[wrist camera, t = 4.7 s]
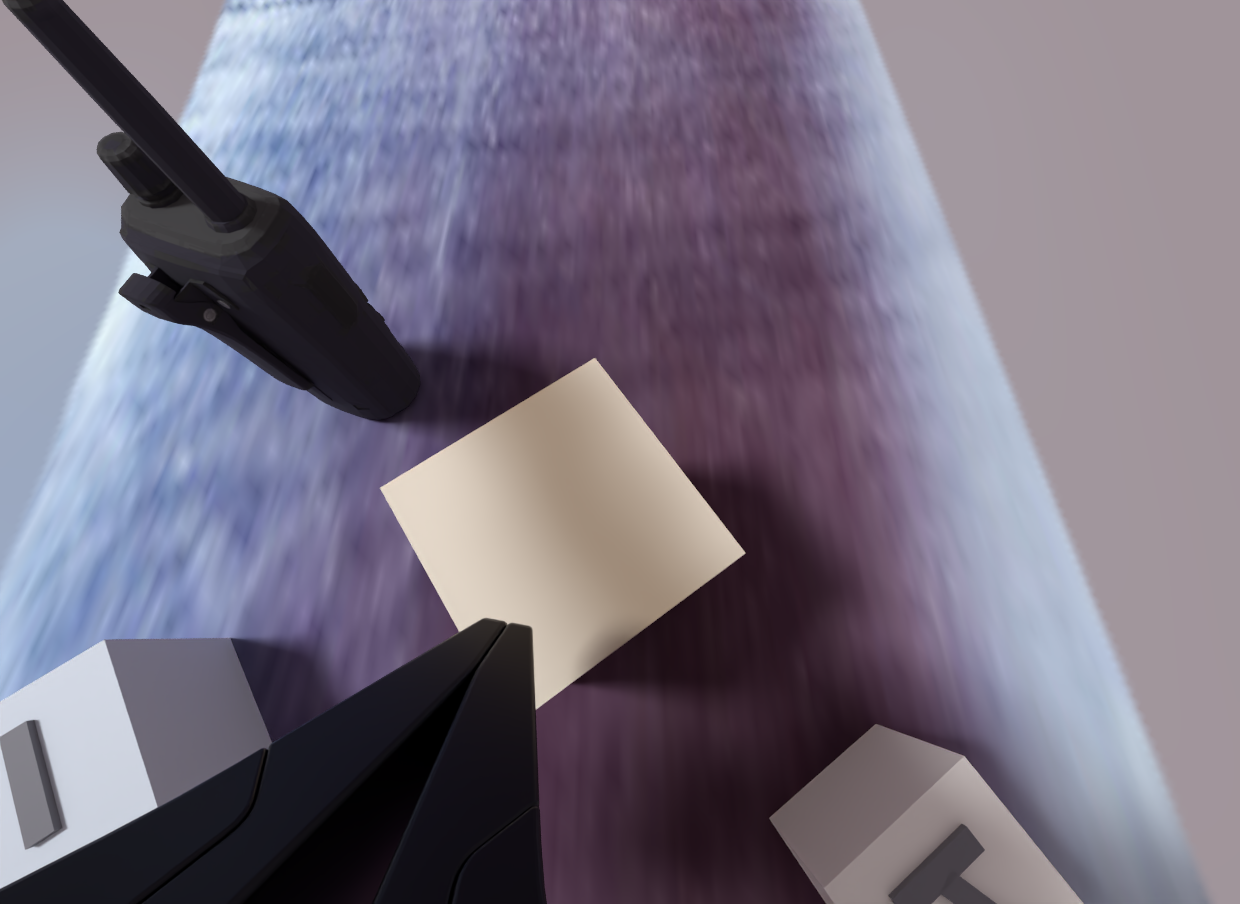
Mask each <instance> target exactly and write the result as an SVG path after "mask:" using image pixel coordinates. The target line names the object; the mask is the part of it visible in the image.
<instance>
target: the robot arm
mask: <svg viewBox="0 0 1240 904" xmlns="http://www.w3.org/2000/svg"><path fill="white" fill-rule="evenodd" d="M0 904H547V901H546V894H545V886H544V873H543V859H542V846H541V826H540V809H539V784H538V758H537V731H536V705H535V679H534V652H533V630H532V627H530V626H528V625H522V624H517V623H509V624H507V623H506V622H505V621H502V620H496V619H491V618H483V619H481V620H479V621H477V622H476V623H474V624H472V625H470V626H469V627H467V628H465V629H464V630H462V631H460V632H459V633H457V634H455V635H454V636H452V637H450V638H448V639H447V640H445V641H443V642H442V643H440V644H438V645H437V646H435V647H433V648H432V649H430V650H428V651H427V652H425V653H423V654H421V655H420V656H418V657H416V658H415V659H413V660H411V661H410V662H408V663H406V664H405V665H403V666H401V667H400V668H398V669H396V670H394V671H393V672H391V673H389V674H388V675H386V676H384V677H383V678H381V679H379V680H378V681H376V682H374V683H372V684H371V685H369V686H367V687H366V688H364V689H362V690H361V691H359V692H357V693H356V694H354V695H352V696H351V697H349V698H347V699H345V700H344V701H342V702H340V703H339V704H337V705H335V706H334V707H332V708H330V709H329V710H327V711H325V712H323V713H322V714H320V715H318V716H317V717H315V718H313V719H312V720H310V721H308V722H307V723H305V724H303V725H302V726H300V727H298V728H296V729H295V730H293V731H291V732H290V733H288V734H286V735H285V736H283V737H281V738H280V739H278V740H276V741H274V742H273V743H271V744H270V745H269V747H268V750H267V749H266V748H261V749H259V750H257V751H256V752H254V753H252V754H251V755H249V756H247V757H246V758H244V759H242V760H241V761H239V762H237V763H235V764H234V765H232V766H230V767H229V768H227V769H225V770H223V771H222V772H220V773H218V774H216V775H215V776H213V777H211V778H209V779H207V780H206V781H204V782H202V783H200V784H199V785H197V786H195V787H193V788H192V789H190V790H188V791H186V792H185V793H183V794H181V795H179V796H178V797H176V798H174V799H172V800H170V801H168V802H166V803H165V804H163V805H161V806H159V807H157V808H155V809H153V810H151V811H149V812H148V813H146V814H144V815H142V816H140V817H138V818H136V819H134V820H132V821H131V822H129V823H127V824H125V825H123V826H121V827H119V828H117V829H115V830H114V831H112V832H110V833H108V834H106V835H104V836H102V837H100V838H98V839H96V840H94V841H92V842H90V843H88V844H86V845H85V846H83V847H81V848H79V849H77V850H75V851H73V852H71V853H69V854H67V855H65V856H63V857H61V858H59V859H57V860H55V861H53V862H51V863H49V864H47V865H45V866H43V867H42V868H40V869H38V870H36V871H34V872H32V873H30V874H28V875H26V876H24V877H22V878H20V879H18V880H16V881H14V882H12V883H10V884H8V885H6V886H4V887H2V888H0Z"/></svg>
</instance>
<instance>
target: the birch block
mask: <svg viewBox="0 0 1240 904" xmlns="http://www.w3.org/2000/svg"><path fill="white" fill-rule="evenodd" d="M380 489H381V491H382V492H383V494H384V496H385V498H386V500H387V502H388V503H389V505H390V507H391V509H392V511H393V512H394V514H395V516H396V518H397V520H398V521H399V523H400V525H401V527H402V529H403V531H404V532H405V534H406V536H407V538H408V540H409V541H410V543H411V545H412V547H413V549H414V551H415V552H416V554H417V556H418V558H419V560H420V561H421V563H422V565H423V567H424V569H425V570H426V572H427V574H428V576H429V578H430V580H431V581H432V583H433V585H434V587H435V589H436V590H437V592H438V594H439V596H440V598H441V599H442V601H443V603H444V605H445V607H446V609H447V610H448V612H449V614H450V616H451V618H452V619H453V621H454V623H455V625H456V627H457V628H458V630H459V632H460V631H462V630H464V629H465V628H467V627H469V626H470V625H472V624H474V623H476V622H477V621H479V620H481V619H483V618H491V619H496V620H502V621H505V622H506V623H507V624H509V623H517V624H522V625H528V626H530V627H532V630H533V652H534V679H535V705H536V709H537V708H539V707H540V706H541V705H543V704H544V703H545V702H547V701H548V700H549V699H551V698H552V697H553V696H555V695H556V694H557V693H559V692H560V691H561V690H563V689H564V688H565V687H567V686H568V685H570V684H571V683H572V682H574V681H575V680H576V679H578V678H579V677H580V676H582V675H583V674H584V673H586V672H587V671H588V670H590V669H591V668H592V667H594V666H595V665H596V664H598V663H599V662H600V661H602V660H603V659H604V658H606V657H607V656H608V655H610V654H611V653H612V652H614V651H615V650H617V649H618V648H619V647H621V646H622V645H623V644H625V643H626V642H627V641H629V640H630V639H631V638H633V637H634V636H635V635H637V634H638V633H639V632H641V631H642V630H643V629H645V628H646V627H647V626H649V625H650V624H651V623H653V622H654V621H655V620H657V619H658V618H659V617H661V616H662V615H664V614H665V613H666V612H668V611H669V610H670V609H672V608H673V607H674V606H676V605H677V604H678V603H680V602H681V601H682V600H684V599H685V598H686V597H688V596H689V595H690V594H692V593H693V592H694V591H696V590H697V589H698V588H700V587H701V586H702V585H704V584H705V583H707V582H708V581H709V580H711V579H712V578H713V577H715V576H716V575H717V574H719V573H720V572H721V571H723V570H724V569H725V568H727V567H728V566H729V565H731V564H732V563H733V562H735V561H736V560H737V559H739V558H740V557H741V556H743V555H744V554H745V552H744V550H743V549H742V548H741V546H740V545H739V544H738V543H737V541H736V540H735V539H734V537H733V536H732V535H731V533H730V532H729V531H728V530H727V528H726V527H725V526H724V524H723V523H722V522H721V521H720V519H719V518H718V517H717V515H716V514H715V513H714V511H713V510H712V509H711V508H710V506H709V505H708V504H707V502H706V501H705V500H704V499H703V497H702V496H701V495H700V493H699V492H698V491H697V489H696V488H695V487H694V486H693V484H692V483H691V482H690V480H689V479H688V478H687V477H686V475H685V474H684V473H683V471H682V470H681V469H680V467H679V466H678V465H677V464H676V462H675V461H674V460H673V458H672V457H671V456H670V455H669V453H668V452H667V451H666V449H665V448H664V447H663V445H662V444H661V443H660V442H659V440H658V439H657V438H656V436H655V435H654V434H653V432H652V431H651V430H650V429H649V427H648V426H647V425H646V423H645V422H644V421H643V420H642V418H641V417H640V416H639V414H638V413H637V412H636V410H635V409H634V408H633V407H632V405H631V404H630V403H629V401H628V400H627V399H626V398H625V396H624V395H623V394H622V392H621V391H620V390H619V388H618V387H617V386H616V385H615V383H614V382H613V381H612V379H611V378H610V377H609V376H608V374H607V373H606V372H605V370H604V369H603V368H602V366H601V365H600V364H599V363H598V361H597V360H596V359H595V358H594V359H592V360H591V361H589V362H587V363H586V364H584V365H582V366H581V367H579V368H577V369H576V370H574V371H572V372H571V373H569V374H567V375H566V376H564V377H563V378H561V379H559V380H558V381H556V382H554V383H553V384H551V385H549V386H548V387H546V388H544V389H543V390H541V391H539V392H538V393H536V394H534V395H533V396H531V397H529V398H528V399H526V400H524V401H523V402H521V403H520V404H518V405H516V406H515V407H513V408H511V409H510V410H508V411H506V412H505V413H503V414H501V415H500V416H498V417H496V418H495V419H493V420H491V421H490V422H488V423H486V424H485V425H483V426H482V427H480V428H478V429H477V430H475V431H473V432H472V433H470V434H468V435H467V436H465V437H463V438H462V439H460V440H458V441H457V442H455V443H453V444H452V445H450V446H448V447H447V448H445V449H443V450H442V451H440V452H439V453H437V454H435V455H434V456H432V457H430V458H429V459H427V460H425V461H424V462H422V463H420V464H419V465H417V466H415V467H414V468H412V469H410V470H409V471H407V472H405V473H404V474H402V475H401V476H399V477H397V478H396V479H394V480H392V481H391V482H389V483H387V484H386V485H384V486H382V487H381V488H380Z"/></svg>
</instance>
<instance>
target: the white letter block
mask: <svg viewBox="0 0 1240 904" xmlns="http://www.w3.org/2000/svg"><path fill="white" fill-rule="evenodd" d="M769 819H770V821H771V822H772V824H773V825H774V827H775V828H776V830H777V831H778V833H779V834H780V836H781V837H782V839H783V840H784V842H785V843H786V845H787V846H788V848H789V849H790V851H791V852H792V854H793V855H794V857H795V858H796V860H797V861H798V863H799V864H800V866H801V867H802V869H803V870H804V872H805V873H806V875H807V876H808V878H809V879H810V881H811V882H812V884H813V885H814V887H815V888H816V890H817V891H818V893H819V894H820V895H821V897H822V898H823V900H824V901H825V903H826V904H1084V903H1083V902H1082V901H1081V900H1080V898H1079V897H1078V896H1077V895H1076V894H1075V892H1074V891H1073V890H1072V889H1071V887H1070V886H1069V885H1068V884H1067V882H1066V881H1065V880H1064V879H1063V877H1062V876H1061V875H1060V874H1059V873H1058V871H1057V870H1056V869H1055V868H1054V866H1053V865H1052V864H1051V863H1050V861H1049V860H1048V859H1047V858H1046V856H1045V855H1044V854H1043V853H1042V851H1041V850H1040V849H1039V848H1038V847H1037V845H1036V844H1035V843H1034V842H1033V840H1032V839H1031V838H1030V837H1029V835H1028V834H1027V833H1026V832H1025V830H1024V829H1023V828H1022V827H1021V825H1020V824H1019V823H1018V822H1017V821H1016V819H1015V818H1014V817H1013V816H1012V814H1011V813H1010V812H1009V811H1008V809H1007V808H1006V807H1005V806H1004V804H1003V803H1002V802H1001V801H1000V799H999V798H998V797H997V796H996V795H995V793H994V792H993V791H992V790H991V788H990V787H989V786H988V785H987V783H986V782H985V781H984V780H983V778H982V777H981V776H980V775H979V773H978V772H977V771H976V770H975V769H974V767H973V766H972V765H971V764H970V762H969V761H968V760H967V759H966V757H965V756H963V755H960V754H958V753H955V752H952V751H949V750H947V749H944V748H941V747H938V746H936V745H933V744H930V743H927V742H925V741H922V740H919V739H916V738H914V737H911V736H908V735H905V734H903V733H900V732H897V731H894V730H892V729H889V728H886V727H883V726H881V725H878V724H875V725H874V726H873V727H872V728H870V729H869V730H868V731H867V732H866V733H865V734H864V735H863V736H861V737H860V738H859V739H858V740H857V741H856V742H855V743H853V744H852V745H851V746H850V747H849V748H848V749H847V750H846V751H844V752H843V753H842V754H841V755H840V756H839V757H838V758H836V759H835V760H834V761H833V762H832V763H831V764H830V765H829V766H827V767H826V768H825V769H824V770H823V771H822V772H821V773H819V774H818V775H817V776H816V777H815V778H814V779H813V780H812V781H810V782H809V783H808V784H807V785H806V786H805V787H804V788H802V789H801V790H800V791H799V792H798V793H797V794H796V795H795V796H793V797H792V798H791V799H790V800H789V801H788V802H787V803H785V804H784V805H783V806H782V807H781V808H780V809H779V810H778V811H776V812H775V813H774V814H773V815H772V816H771V817H770V818H769Z"/></svg>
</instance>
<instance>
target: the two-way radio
mask: <svg viewBox="0 0 1240 904" xmlns="http://www.w3.org/2000/svg"><path fill="white" fill-rule="evenodd" d="M2 1H3V3H4V5H5V6H6V7H7V8H8V9H9V10H10V11H11V12H12V13H13V14H14V15H15V16H16V17H17V19H19V21H20V22H21V23H22V24H23V25H24V26H25V27H26V28H27V29H28V30H29V31H30V32H31V34H32V35H33V36H34V37H35V38H36V39H37V40H38V41H39V42H40V43H41V44H42V45H43V46H44V47H45V48H46V49H47V51H48V52H49V53H50V54H51V55H52V56H53V57H54V58H55V59H56V60H57V61H58V62H59V63H60V64H61V65H62V67H63V68H64V69H65V70H66V71H67V72H68V73H69V74H70V75H71V76H72V77H73V78H74V79H75V81H76V82H77V83H78V84H79V85H80V86H81V87H82V88H83V89H84V90H85V91H86V92H87V93H88V94H89V95H90V97H91V98H92V99H93V100H94V101H95V102H96V103H97V104H98V105H99V106H100V107H101V108H102V109H103V110H104V111H105V112H106V114H107V115H108V116H109V117H110V118H111V119H112V120H113V121H114V122H115V123H116V124H117V125H118V126H119V127H120V128H121V130H123V131H124V133H123V132H116V133H111V134H109V135H107V136H105V137H104V138H102V139H101V140H100V141H99V143H98V146H97V154H98V156H99V157H100V159H101V160H102V161H103V163H105V165H106V166H107V167H108V169H109V170H110V171H111V172H112V173H113V175H114V176H115V177H116V178H117V179H118V180H119V182H120V183H121V184H122V185H123V187H124V188H125V189H126V190H127V191H128V193H130V195H129V196H128V198H127V199H126V201H125V202H124V203H123V205H122V206H121V230H120V234H121V236H122V238H123V240H124V241H125V242H126V243H127V245H128V246H129V247H130V248H131V249H132V251H133V252H134V253H135V254H136V255H137V256H138V258H139V259H140V260H141V261H142V262H143V263H145V265H146V266H147V267H148V269H149V270H150V271H151V274H150V275H149V276H148V277H146V276H143V275H140V274H137V273H133V274H132V275H131V276H130V278H129V279H128V280H127V281H126V282H125V283H124V285H123V286H122V287H121V288H120V290H119V292H118V293H119V294H120V295H121V296H123V297H124V298H126V299H127V300H128V301H130V302H131V303H132V304H133V305H135V306H136V307H138V308H139V309H141V310H142V311H144V312H146V313H149V314H151V315H153V316H155V317H157V318H159V319H163V320H167V321H170V322H174V323H178V324H183V325H191V326H196V327H198V328H201V329H203V330H205V331H206V332H208V333H210V334H211V335H213V336H214V337H216V338H218V339H219V340H221V341H222V342H224V343H225V344H227V345H228V346H230V347H231V348H233V349H234V350H236V351H237V352H238V353H240V354H241V355H243V356H244V357H246V358H247V359H249V360H250V361H251V362H253V363H254V364H256V365H257V366H258V367H260V368H261V369H263V370H264V371H265V372H267V373H268V374H270V375H271V376H273V377H274V378H276V379H277V380H279V381H281V382H283V383H285V384H287V385H290V386H292V387H295V388H298V389H301V390H307V391H308V392H309V393H311V394H313V395H314V396H315V397H317V398H318V399H319V400H321V401H323V402H324V403H326V404H328V405H331V406H333V407H335V408H337V409H340V410H342V411H345V412H347V413H350V414H353V415H356V416H360V417H363V418H367V419H378V420H379V419H384V418H388V417H392V416H393V415H394V414H395V413H397V412H399V411H401V410H403V409H404V408H406V407H408V406H409V404H410V403H411V402H412V400H413V399H414V398H415V396H416V394H417V391H418V388H419V385H420V375H419V373H418V371H417V368H416V366H415V365H414V363H413V361H412V360H411V358H410V357H409V356H408V354H407V353H406V351H405V350H404V349H403V347H402V346H401V345H400V344H399V342H398V341H397V340H396V338H395V337H394V336H393V334H392V333H391V331H390V329H389V328H388V326H387V325H386V324H385V322H384V321H385V319H384V318H383V317H382V316H381V315H380V314H379V313H378V312H377V311H376V310H375V309H374V308H373V307H372V306H371V305H370V304H369V303H367V302H368V299H367V298H366V296H365V295H364V293H363V292H362V290H361V289H360V288H359V286H358V285H357V284H356V283H354V281H353V280H352V278H351V277H350V276H349V274H348V273H347V272H346V270H345V269H344V268H343V266H342V265H341V264H340V262H339V261H338V260H337V258H336V257H335V256H334V254H333V253H332V252H331V250H330V249H329V248H328V247H327V245H326V244H325V243H324V241H323V240H322V239H321V237H320V236H319V235H318V234H317V232H316V231H315V230H314V229H313V228H312V226H311V225H310V224H309V223H308V222H307V221H306V220H305V218H304V217H303V216H302V215H301V214H300V213H299V212H298V211H297V210H296V209H295V208H294V207H293V206H292V205H291V204H290V203H289V202H288V201H287V200H285V199H284V198H282V197H280V196H278V195H276V194H274V193H271V192H269V191H266V190H263V189H261V188H258V187H255V186H252V185H250V184H247V183H244V182H241V181H237V180H234V179H231V178H228V177H225V176H224V175H223V174H222V173H221V171H220V170H219V169H218V168H217V167H216V166H215V165H214V164H213V163H212V161H211V160H210V159H209V158H208V157H207V156H206V155H205V154H204V153H203V151H202V150H201V149H200V148H199V147H198V146H197V145H196V144H195V143H194V142H193V140H192V139H191V138H190V137H189V136H188V135H187V134H186V133H185V132H184V130H183V129H182V128H181V127H180V126H179V125H178V124H177V123H176V122H175V120H174V119H173V118H172V117H171V116H170V115H169V114H168V113H167V112H166V111H165V109H164V108H163V107H162V106H161V105H160V104H159V103H158V102H157V101H156V100H155V98H154V97H153V96H152V95H151V94H150V93H149V92H148V91H147V90H146V89H145V88H144V87H143V86H142V85H141V83H140V82H138V80H137V79H136V78H135V77H134V76H133V75H132V74H131V73H130V72H129V71H128V70H127V69H126V67H125V66H124V65H123V64H122V63H121V62H120V61H119V60H118V59H117V58H116V57H115V56H114V55H113V54H112V52H111V51H110V50H109V49H108V48H107V47H106V46H105V45H104V44H103V43H102V42H101V41H100V40H99V39H98V37H96V36H95V34H94V33H93V32H92V31H91V30H90V29H89V28H88V27H87V26H86V25H85V24H84V23H83V21H82V20H81V19H80V18H79V17H78V16H77V15H76V14H75V13H74V12H73V11H72V10H71V9H70V8H69V6H68V5H67V4H66V3H65V2H64V1H63V0H2Z"/></svg>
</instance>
